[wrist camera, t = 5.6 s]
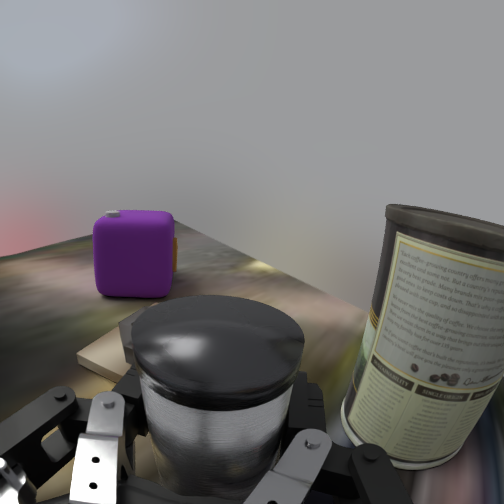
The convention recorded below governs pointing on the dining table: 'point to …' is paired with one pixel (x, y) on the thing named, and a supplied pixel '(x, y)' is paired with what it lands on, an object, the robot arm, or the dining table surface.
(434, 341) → the coffee can
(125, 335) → the beige board with ring
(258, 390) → the black lidded glass jar
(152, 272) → the toy camera
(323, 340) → the dining table surface
